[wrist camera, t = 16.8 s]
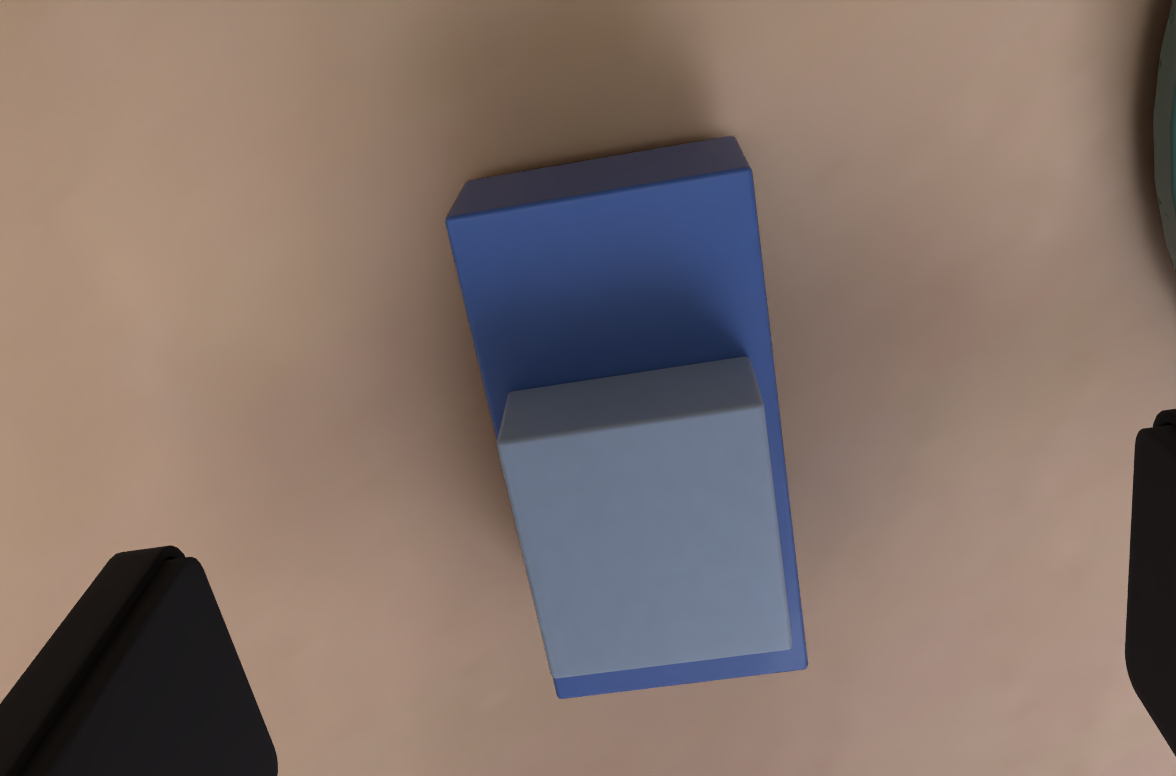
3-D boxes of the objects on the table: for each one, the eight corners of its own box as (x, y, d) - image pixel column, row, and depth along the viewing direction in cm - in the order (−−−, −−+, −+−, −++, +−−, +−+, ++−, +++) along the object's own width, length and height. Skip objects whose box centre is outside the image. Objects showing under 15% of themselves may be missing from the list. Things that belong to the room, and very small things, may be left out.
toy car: (783, 571, 18) (827, 743, 14) (564, 599, 18) (551, 774, 15) (731, 125, 15) (768, 197, 11) (469, 170, 15) (423, 254, 12)
